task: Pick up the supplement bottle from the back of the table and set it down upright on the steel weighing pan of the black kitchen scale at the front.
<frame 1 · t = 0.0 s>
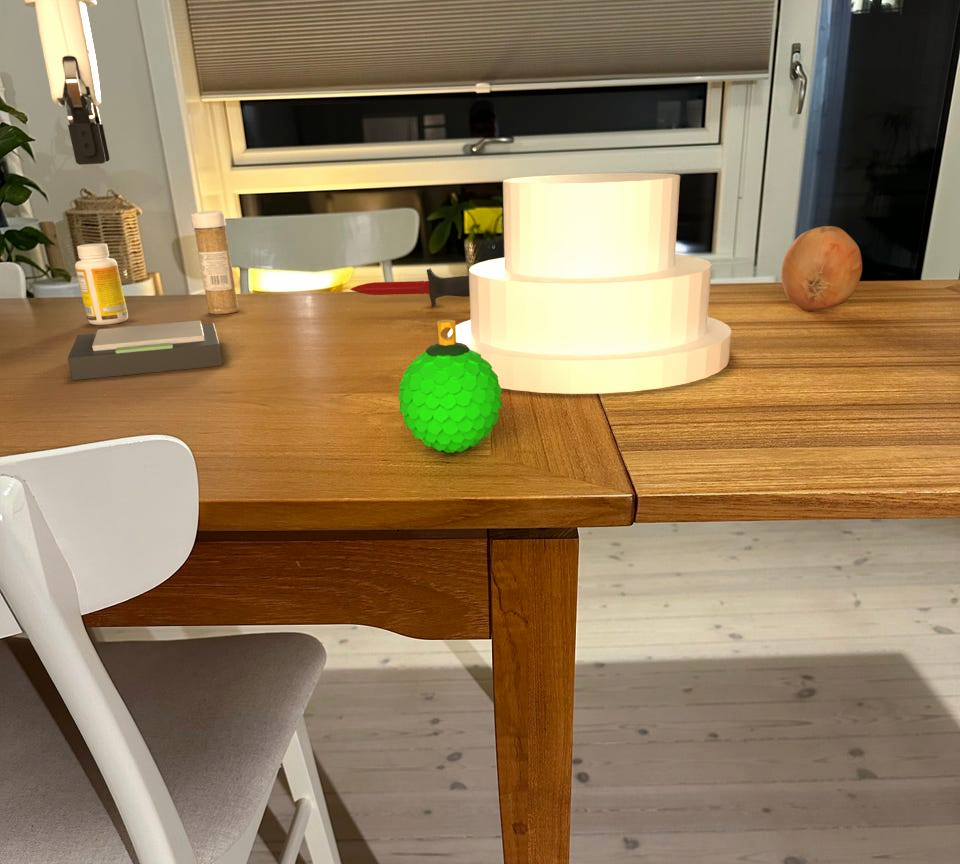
hand: (94, 162, 113), 21 cm above the table, tool pointing down, fingers open, 9 cm apart
ornament: (453, 453, 76), on the table
cake: (586, 360, 104), on the table
knife: (432, 307, 138), on the table
onion: (816, 311, 123), on the table
sprinkles bottle: (223, 313, 139), on the table
supplement bottle: (109, 323, 136), on the table
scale: (149, 360, 112), on the table
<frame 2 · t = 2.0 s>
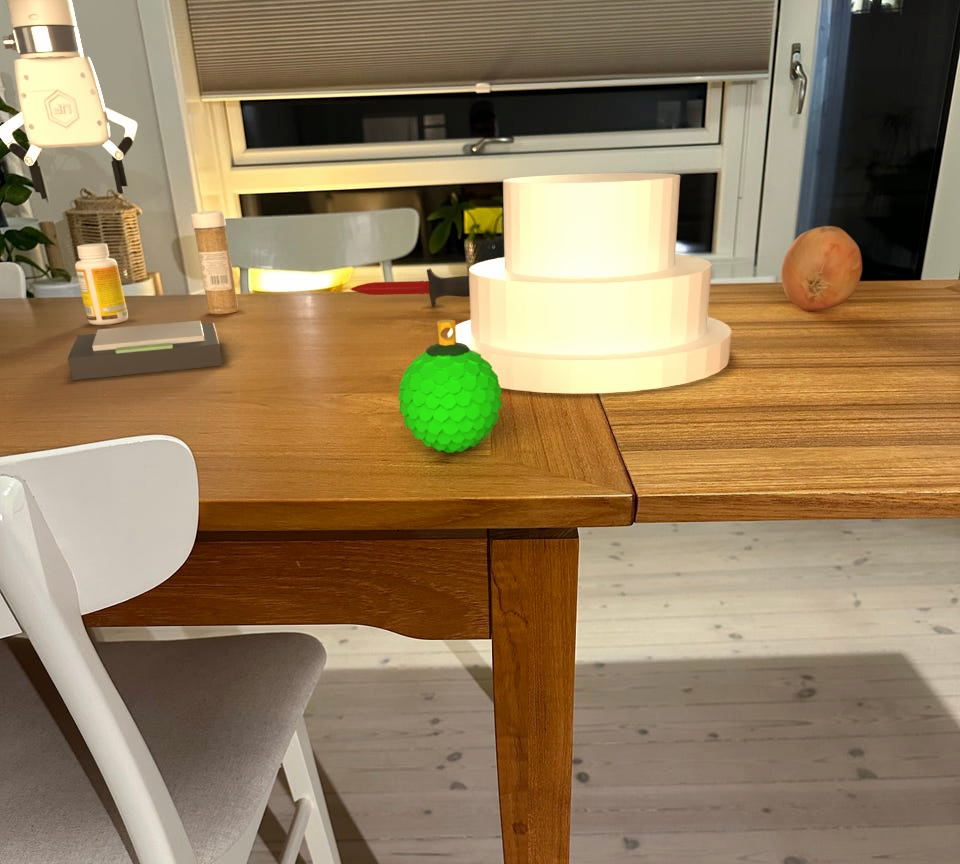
hand: (83, 195, 128), 16 cm above the table, tool pointing down, fingers open, 9 cm apart
nothing on the table moved.
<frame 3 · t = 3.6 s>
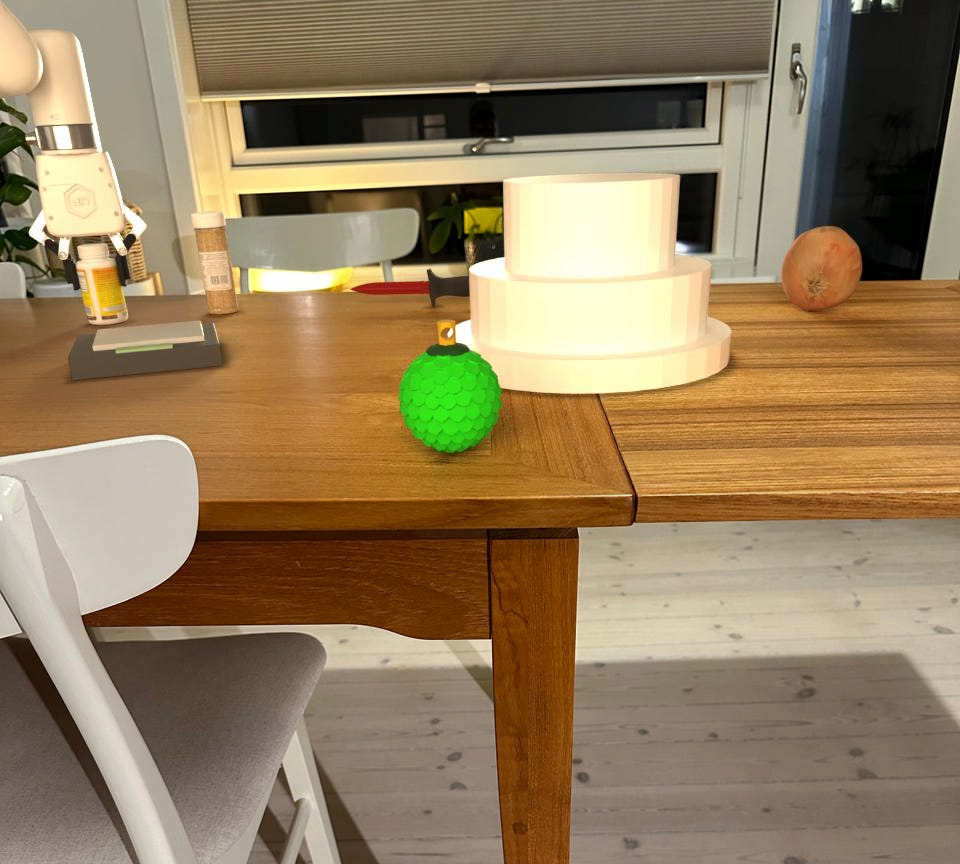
hand: (100, 285, 133), 5 cm above the table, tool pointing down, fingers closed on supplement bottle, 5 cm apart
supplement bottle: (109, 323, 136), on the table, touching gripper
everything else where it was.
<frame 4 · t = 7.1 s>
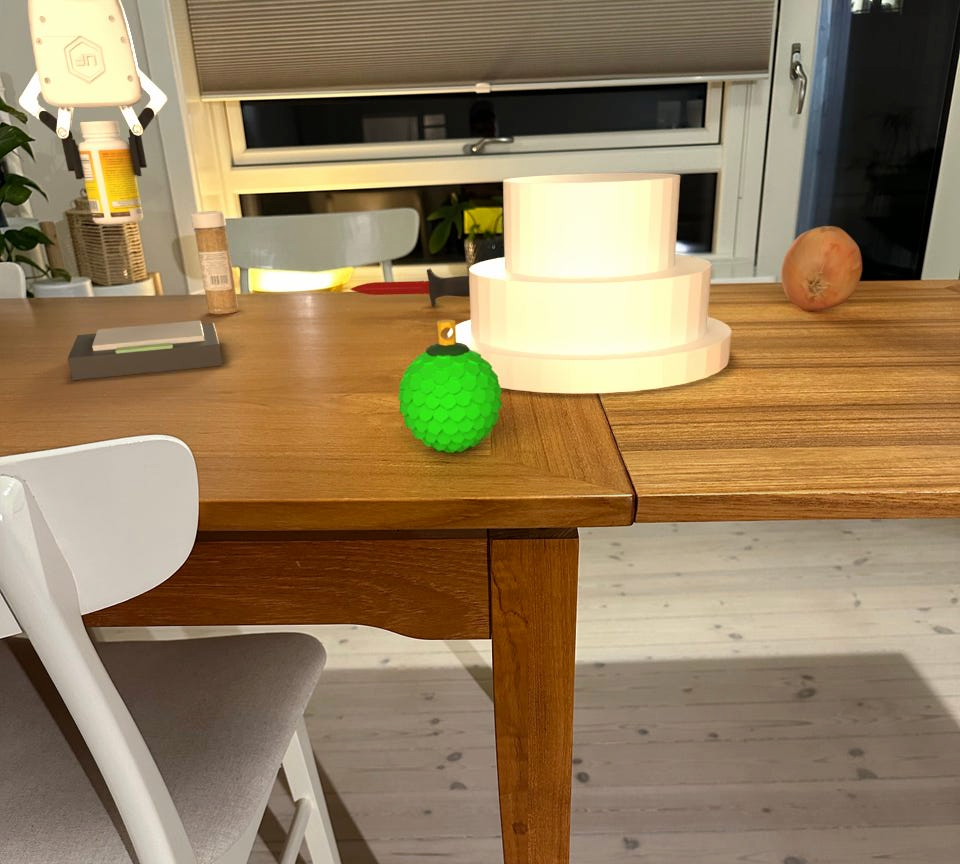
hand: (109, 175, 107), 19 cm above the table, tool pointing down, fingers closed on supplement bottle, 5 cm apart
supplement bottle: (119, 224, 109), point 14 cm above the table, touching gripper
everything else where it was.
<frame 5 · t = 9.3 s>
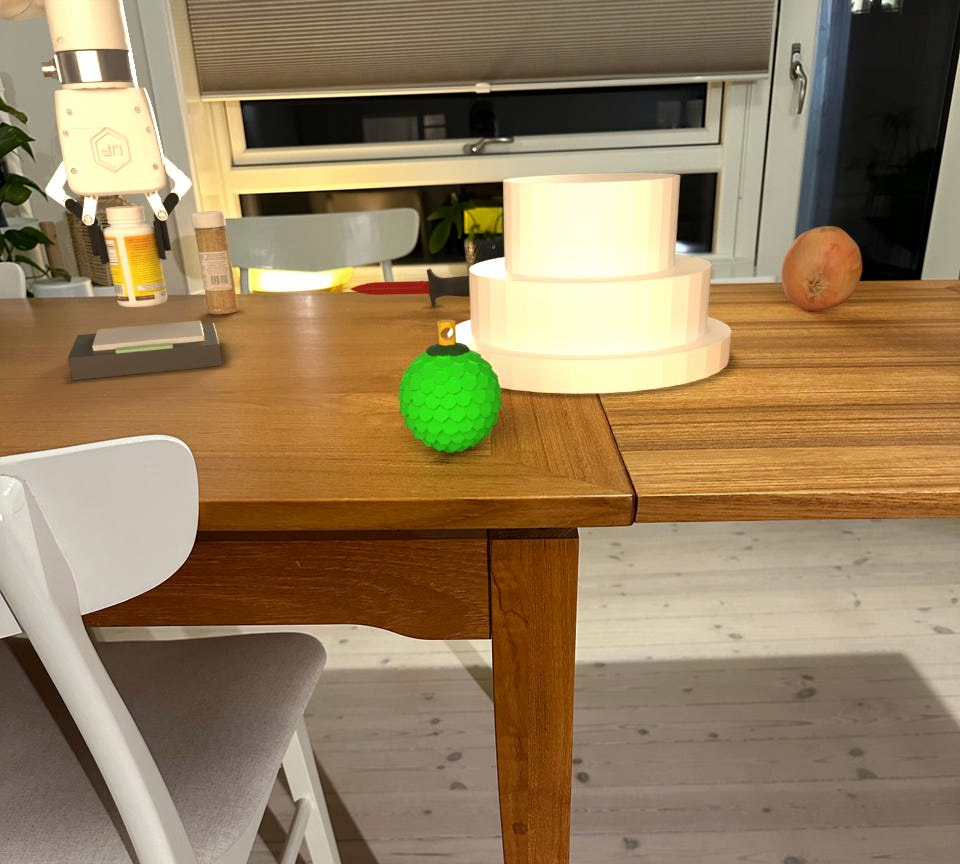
hand: (134, 258, 107), 11 cm above the table, tool pointing down, fingers closed on supplement bottle, 5 cm apart
supplement bottle: (143, 306, 110), point 6 cm above the table, touching gripper
everything else where it was.
when the fingers open (8 cm above the table, at t = 10.6 s): supplement bottle stays where it is, resting on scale.
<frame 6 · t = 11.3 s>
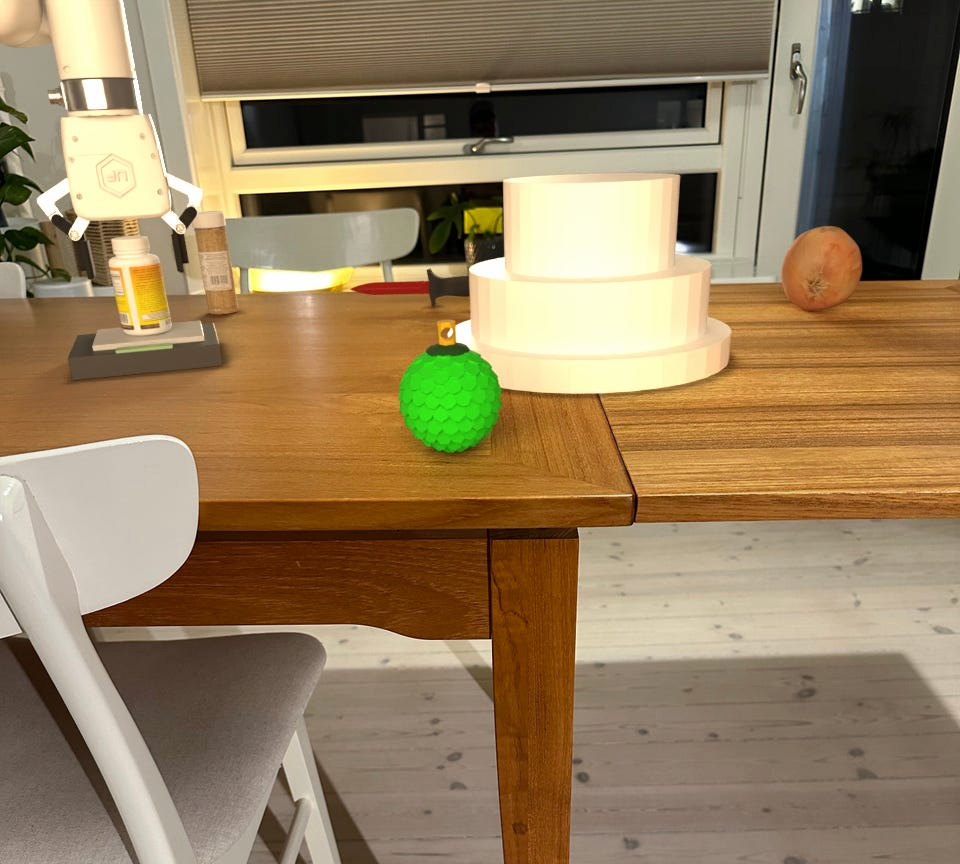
hand: (137, 274, 108), 9 cm above the table, tool pointing down, fingers open, 9 cm apart
supplement bottle: (148, 334, 111), point 3 cm above the table, touching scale
everything else where it was.
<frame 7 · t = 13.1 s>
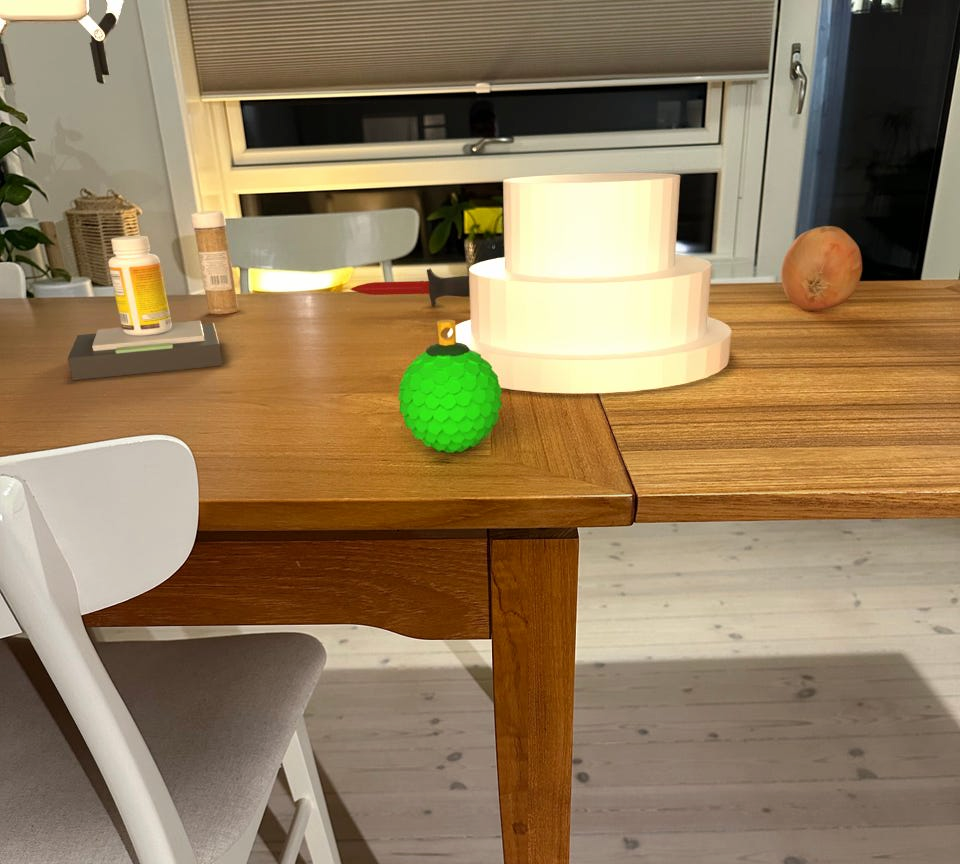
hand: (56, 84, 107), 29 cm above the table, tool pointing down, fingers open, 9 cm apart
nothing on the table moved.
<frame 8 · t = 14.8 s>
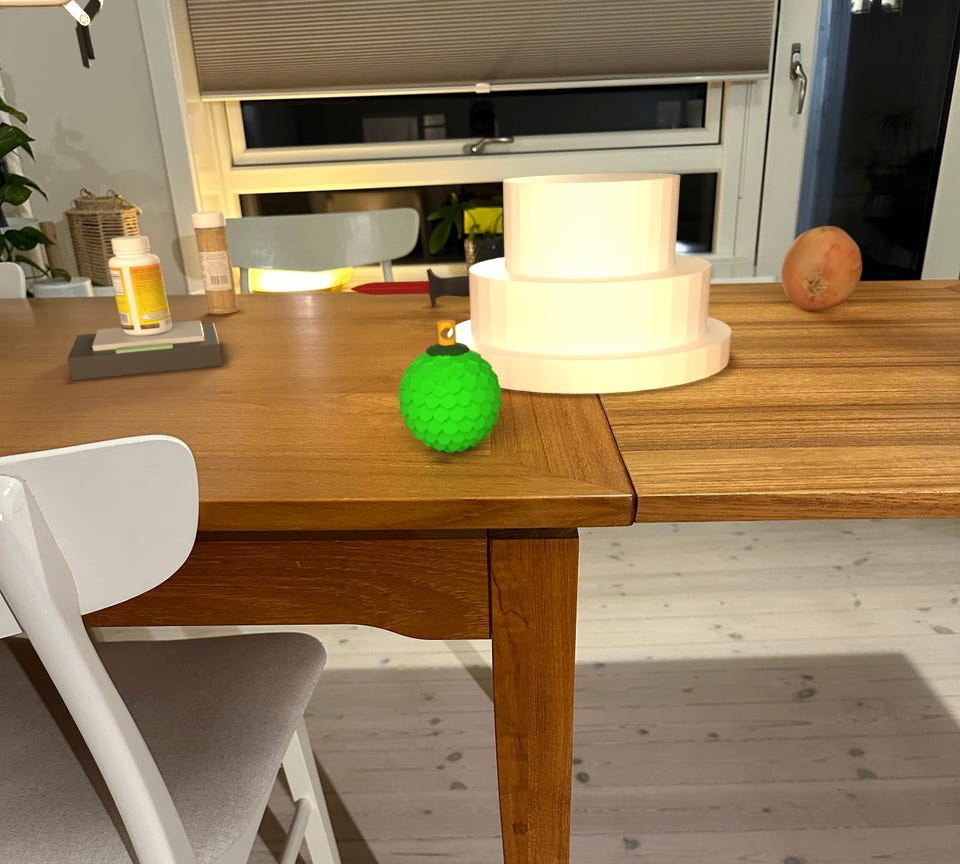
hand: (43, 68, 109), 30 cm above the table, tool pointing down, fingers open, 9 cm apart
nothing on the table moved.
at the end: supplement bottle inside the target area on the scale (0.1 cm from its centre), point 2.8 cm above the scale's base; supplement bottle tilted 0°; the gripper is holding nothing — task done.
